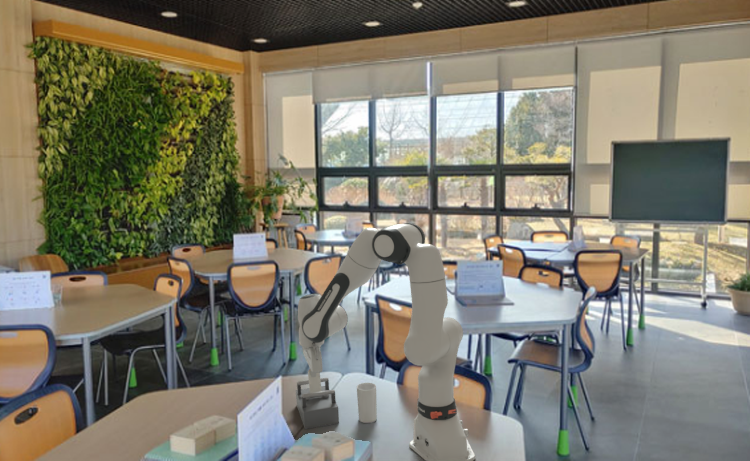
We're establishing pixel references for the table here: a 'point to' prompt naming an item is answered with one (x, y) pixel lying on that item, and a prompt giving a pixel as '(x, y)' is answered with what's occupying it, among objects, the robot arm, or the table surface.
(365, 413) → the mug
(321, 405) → the grey lever base
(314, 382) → the lever
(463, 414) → the table surface
